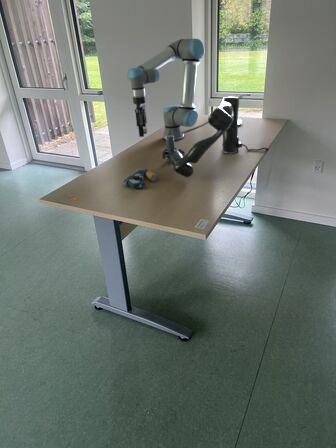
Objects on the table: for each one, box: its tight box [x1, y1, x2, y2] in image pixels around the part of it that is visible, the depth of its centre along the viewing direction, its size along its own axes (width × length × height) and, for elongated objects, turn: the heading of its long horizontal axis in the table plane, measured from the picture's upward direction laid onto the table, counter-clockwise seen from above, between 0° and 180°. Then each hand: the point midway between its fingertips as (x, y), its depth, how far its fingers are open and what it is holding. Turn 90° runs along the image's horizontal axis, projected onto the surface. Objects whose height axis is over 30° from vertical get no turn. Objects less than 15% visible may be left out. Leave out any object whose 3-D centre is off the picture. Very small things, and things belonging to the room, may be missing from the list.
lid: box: [137, 126, 148, 133], centre depth 209 cm, size 6×6×2 cm
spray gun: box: [123, 167, 158, 189], centre depth 183 cm, size 21×4×15 cm
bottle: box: [165, 135, 176, 163], centre depth 205 cm, size 5×5×15 cm
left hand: (143, 134), depth 211 cm, fingers closed on lid, 6 cm apart
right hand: (170, 149), depth 208 cm, fingers closed on bottle, 5 cm apart
